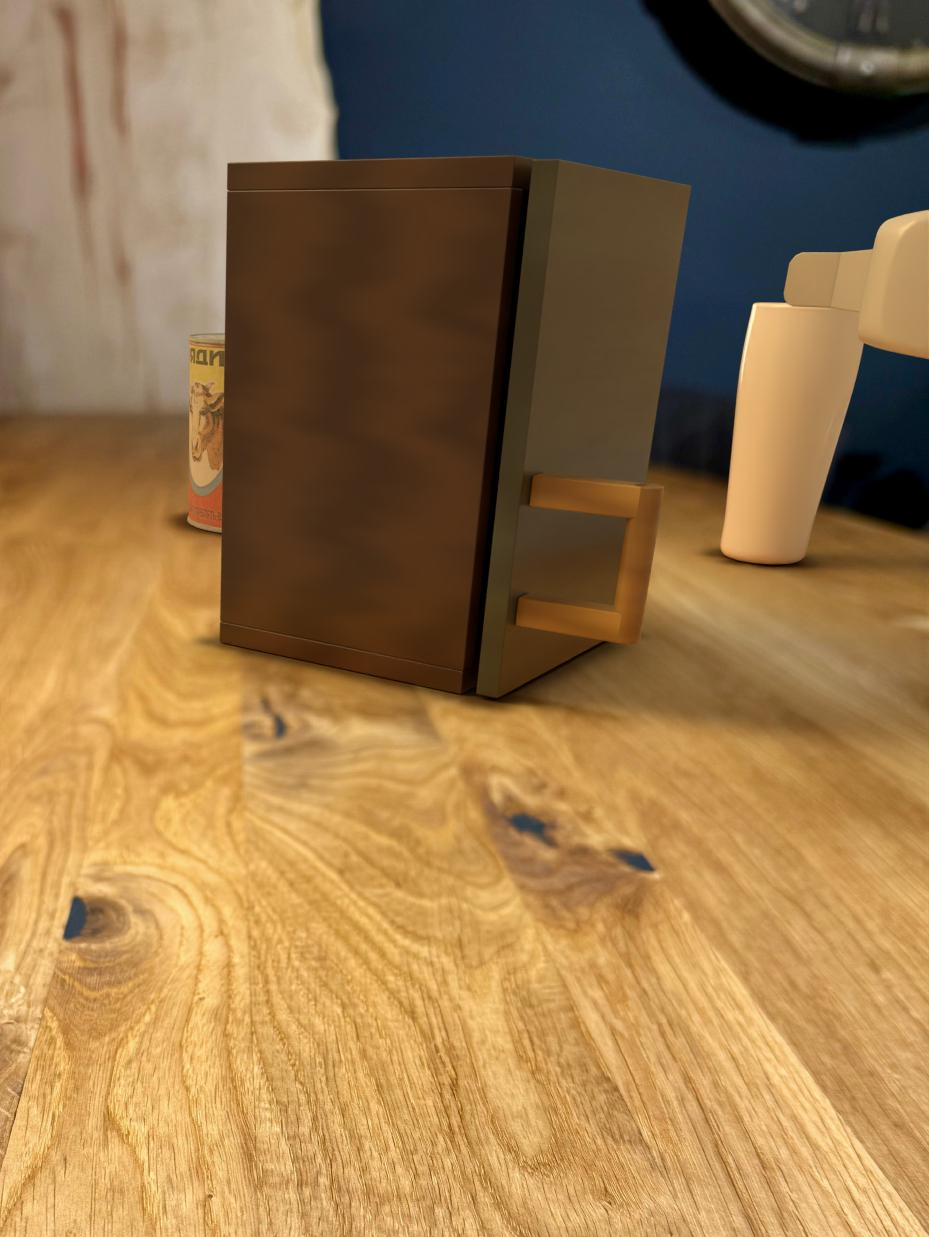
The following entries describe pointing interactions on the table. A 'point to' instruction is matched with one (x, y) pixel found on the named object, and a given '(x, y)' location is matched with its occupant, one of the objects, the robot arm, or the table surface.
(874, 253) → the robot arm
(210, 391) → the canned food
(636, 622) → the cupboard door
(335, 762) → the table surface
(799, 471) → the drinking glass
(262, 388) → the cupboard
